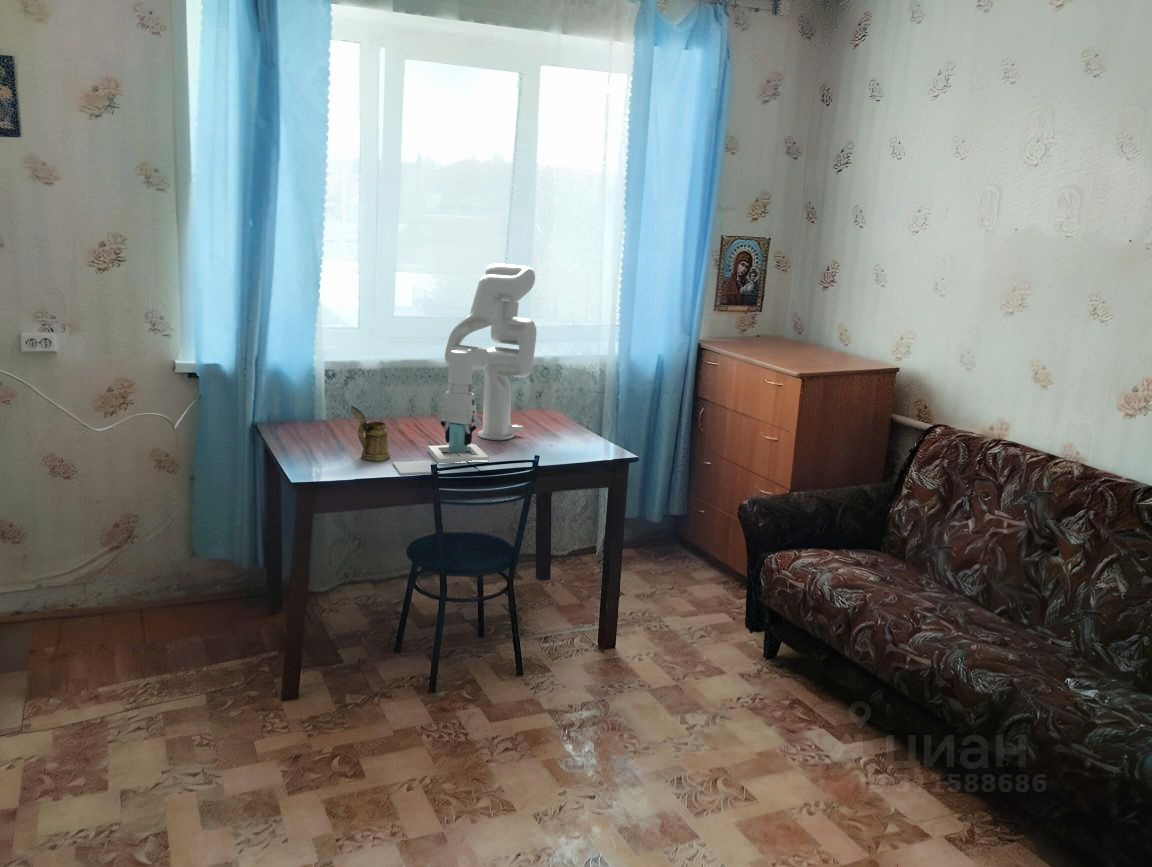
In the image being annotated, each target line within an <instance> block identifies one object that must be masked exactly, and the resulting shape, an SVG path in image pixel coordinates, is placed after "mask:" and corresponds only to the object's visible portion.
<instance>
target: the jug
mask: <svg viewBox="0 0 1152 867" xmlns="http://www.w3.org/2000/svg"><path fill="white" fill-rule="evenodd" d="M466 433H467V431H466V428H465V425H462V424H455V423H450V426H449V443H448V445H449V451H450V452H449V453H454V454H463V453H467V451H468V445H467V446H466V445H465V434H466Z"/></svg>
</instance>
